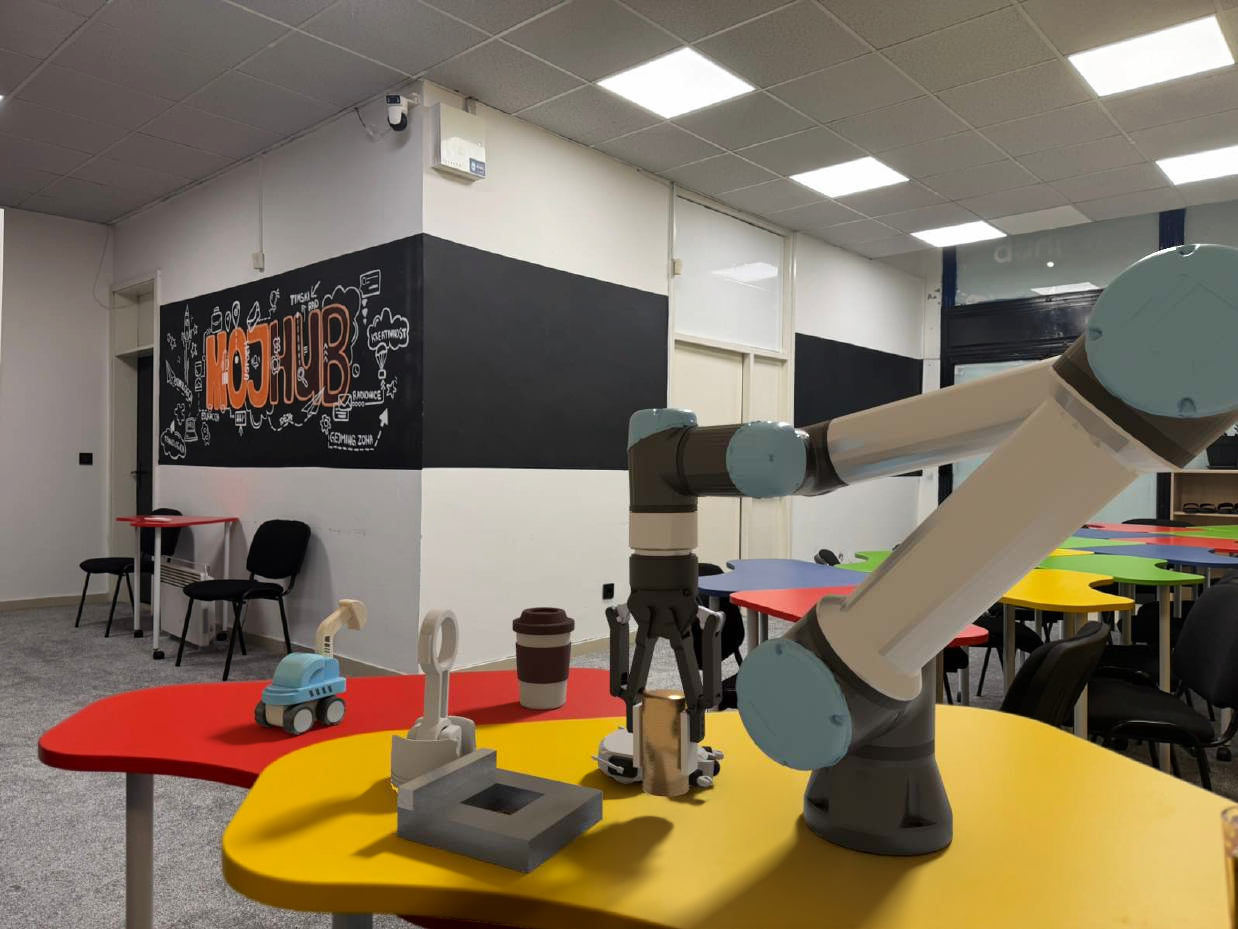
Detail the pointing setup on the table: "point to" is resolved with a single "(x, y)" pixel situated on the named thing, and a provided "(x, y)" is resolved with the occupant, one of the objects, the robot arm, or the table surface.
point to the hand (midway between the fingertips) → (665, 767)
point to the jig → (466, 822)
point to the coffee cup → (543, 656)
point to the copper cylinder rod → (662, 743)
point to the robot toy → (619, 764)
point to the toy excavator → (310, 679)
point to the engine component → (433, 707)
